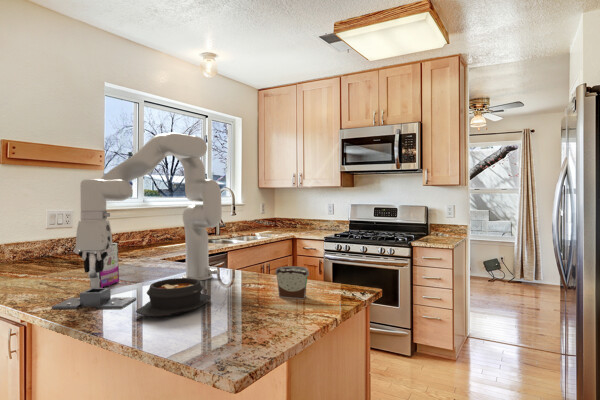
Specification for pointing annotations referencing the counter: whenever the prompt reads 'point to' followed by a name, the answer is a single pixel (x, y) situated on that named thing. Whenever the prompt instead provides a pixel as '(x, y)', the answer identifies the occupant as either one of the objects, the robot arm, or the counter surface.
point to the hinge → (95, 300)
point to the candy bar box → (107, 270)
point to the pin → (93, 265)
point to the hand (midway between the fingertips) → (93, 271)
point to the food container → (292, 281)
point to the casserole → (174, 297)
